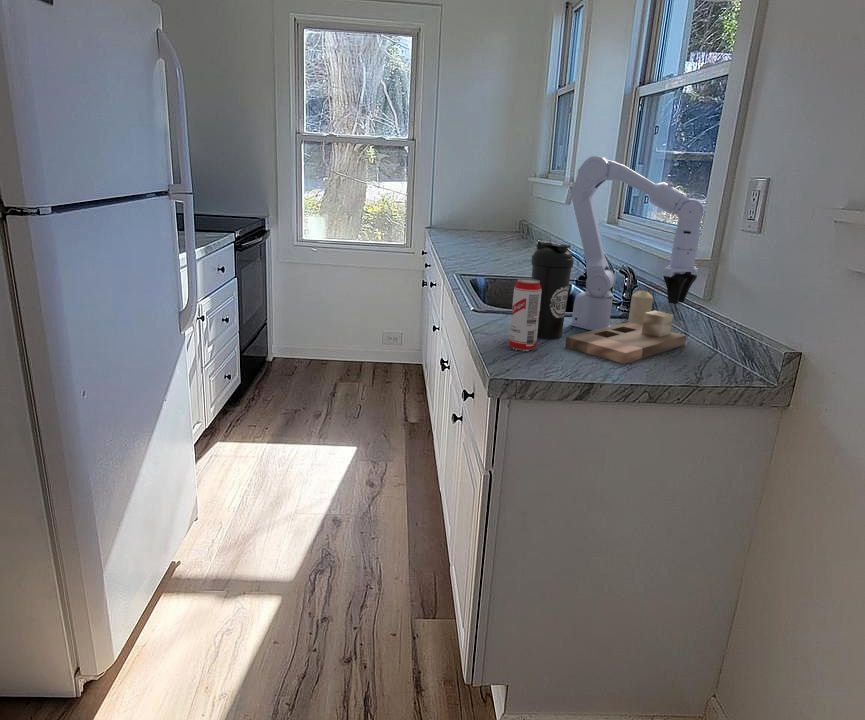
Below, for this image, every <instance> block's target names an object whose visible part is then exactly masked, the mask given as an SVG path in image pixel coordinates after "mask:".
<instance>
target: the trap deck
mask: <svg viewBox="0 0 865 720" xmlns="http://www.w3.org/2000/svg"><path fill="white" fill-rule="evenodd" d="M642 327H643V325H640V324H636V323H632V322H628V321H627V322H624V323H619V324H614V325H610V327H606V328H602V329H597V330H593V331H592V330H589V331H586V332H581V333H577V334H572V335H569V336H566V339H565V348H567V349H570V350H574V351H578V352H581V353H586V354H587V355H593V356H596V357H599V358H602V359H606V360H609V361H614V362H617V363H620V364H624V365H626V364H629V363H630V364H631V363H633V362H636V361H638V360H641V359H646V358H648V357H651V356H654V355H657V354H661V353H664V352H667V351H670V350H673V349H676V348H679V347H683V346H685V345H686V339H687V335H686V334H682V333H678V332H674V331H671V333H670V334H669V335H665V336H662V337H659V336H655V335H650V334H646V333H642Z"/></svg>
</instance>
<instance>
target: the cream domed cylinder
mask: <svg viewBox="0 0 865 720" xmlns="http://www.w3.org/2000/svg"><path fill="white" fill-rule="evenodd" d="M630 299H631V300H630V307H629V314H628V315H629V316H628V320H627V322H632V323H636V324H640V325H643V321H644V314H645V313H646V312H650V311H652V307H653V303H654V302H653V300H654V297H653V295H652V294H651V293H650V292H648V291H647V290H645V289H644V290H636V291H635V292H634V293H633V294H632V295H631V298H630Z"/></svg>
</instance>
